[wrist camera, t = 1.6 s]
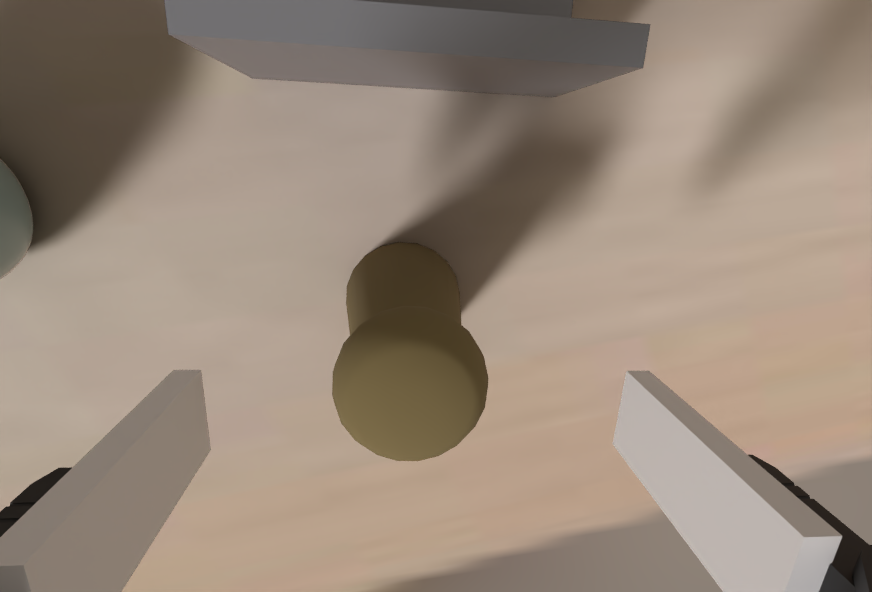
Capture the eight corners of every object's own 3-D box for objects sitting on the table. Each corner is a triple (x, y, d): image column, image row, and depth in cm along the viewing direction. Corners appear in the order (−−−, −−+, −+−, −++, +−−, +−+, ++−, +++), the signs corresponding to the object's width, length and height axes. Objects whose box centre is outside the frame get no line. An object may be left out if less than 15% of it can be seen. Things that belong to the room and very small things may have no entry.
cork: (374, 365, 25) (363, 518, 15) (326, 268, 23) (273, 365, 13) (475, 324, 25) (536, 450, 14) (435, 223, 23) (471, 284, 13)
